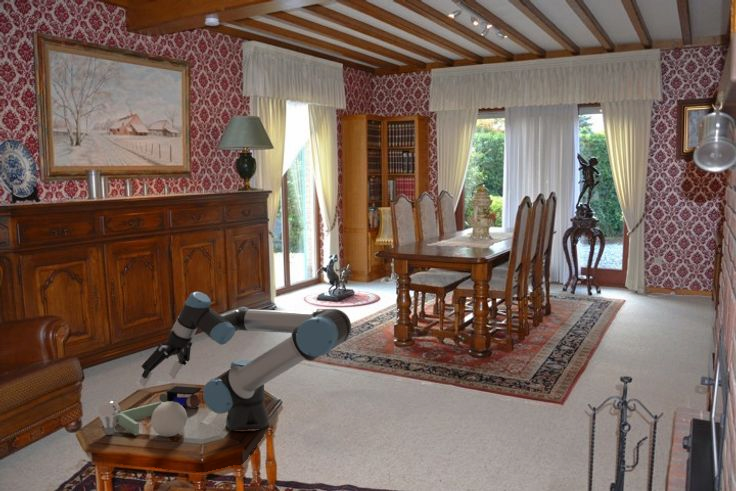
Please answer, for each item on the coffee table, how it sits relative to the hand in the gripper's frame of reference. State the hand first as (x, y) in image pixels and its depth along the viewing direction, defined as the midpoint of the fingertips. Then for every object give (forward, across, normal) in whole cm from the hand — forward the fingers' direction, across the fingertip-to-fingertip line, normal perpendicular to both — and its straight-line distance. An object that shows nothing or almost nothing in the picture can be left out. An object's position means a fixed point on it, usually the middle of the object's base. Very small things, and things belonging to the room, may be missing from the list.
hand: (157, 380), depth 218 cm
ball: (+5, +3, +14) cm, 15 cm away
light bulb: (+19, +13, +2) cm, 23 cm away
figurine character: (+17, -19, +2) cm, 26 cm away
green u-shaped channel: (+16, -1, +5) cm, 17 cm away
